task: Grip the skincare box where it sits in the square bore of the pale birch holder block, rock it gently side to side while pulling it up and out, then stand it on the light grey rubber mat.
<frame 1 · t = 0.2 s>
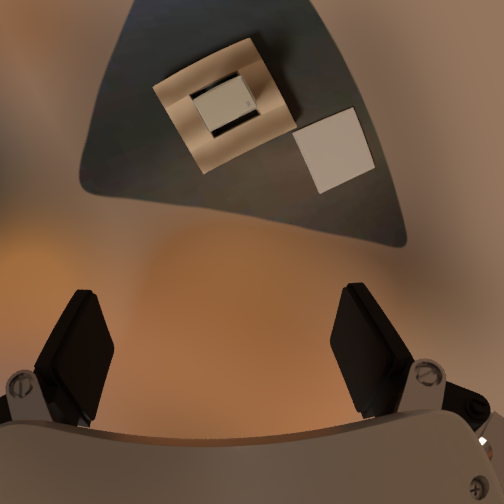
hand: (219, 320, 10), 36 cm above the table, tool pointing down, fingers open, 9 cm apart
skincare box: (225, 104, 39), resting in holder
mat: (336, 150, 43), on the table
holder: (225, 104, 38), on the table
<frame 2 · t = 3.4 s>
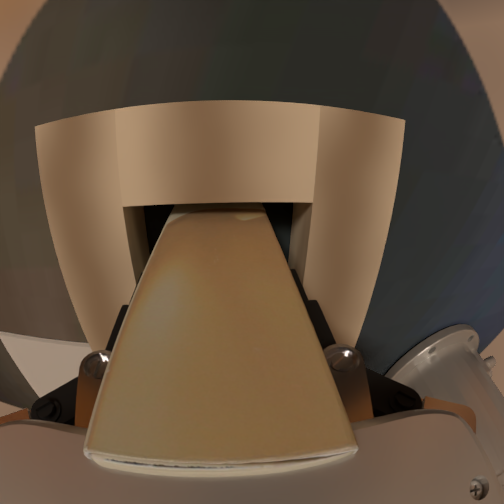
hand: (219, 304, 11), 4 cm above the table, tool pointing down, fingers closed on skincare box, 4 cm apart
skincare box: (219, 250, 15), resting in holder, touching gripper
mat: (69, 382, 20), on the table
holder: (219, 252, 15), on the table
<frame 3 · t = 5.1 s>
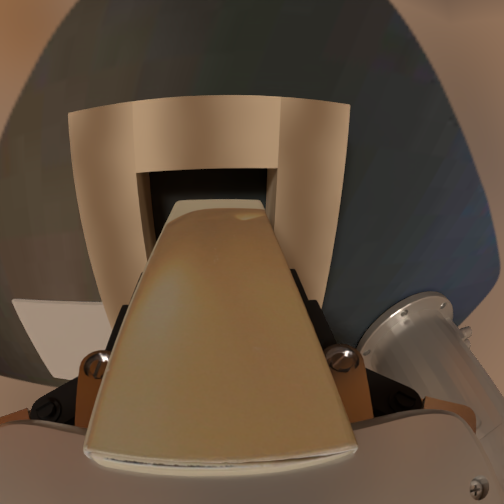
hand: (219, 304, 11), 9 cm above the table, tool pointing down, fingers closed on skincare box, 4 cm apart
skincare box: (218, 250, 15), point 4 cm above the table, touching gripper
mat: (75, 345, 23), on the table
holder: (208, 214, 19), on the table
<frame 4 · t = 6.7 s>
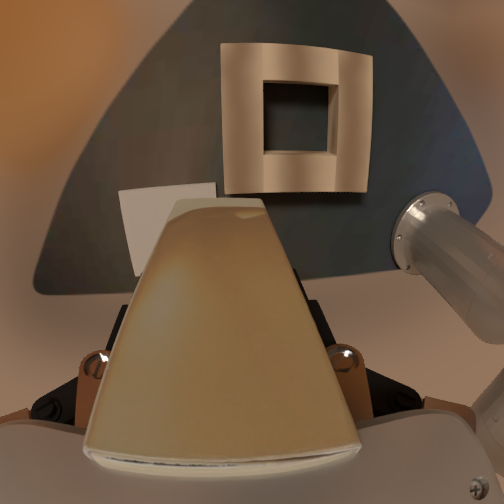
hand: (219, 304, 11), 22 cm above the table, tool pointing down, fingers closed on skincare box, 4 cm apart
skincare box: (219, 249, 15), point 17 cm above the table, touching gripper
mat: (171, 232, 33), on the table
holder: (294, 117, 28), on the table
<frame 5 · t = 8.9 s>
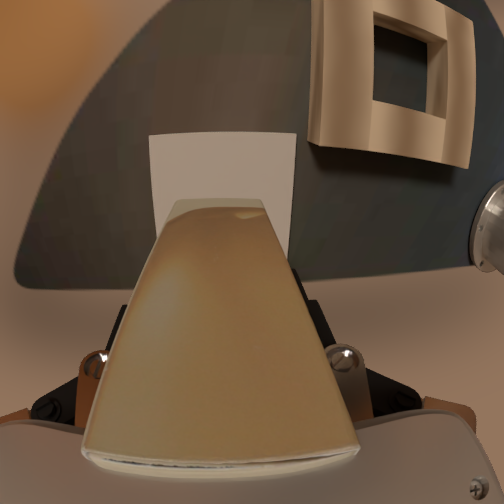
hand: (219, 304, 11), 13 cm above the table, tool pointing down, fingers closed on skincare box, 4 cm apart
skincare box: (218, 249, 15), point 8 cm above the table, touching gripper
mat: (222, 200, 23), on the table
holder: (394, 68, 18), on the table
when the fingers open (6 cm above the table, at t = 10.5 s): skincare box drops 1 cm, resting on mat.
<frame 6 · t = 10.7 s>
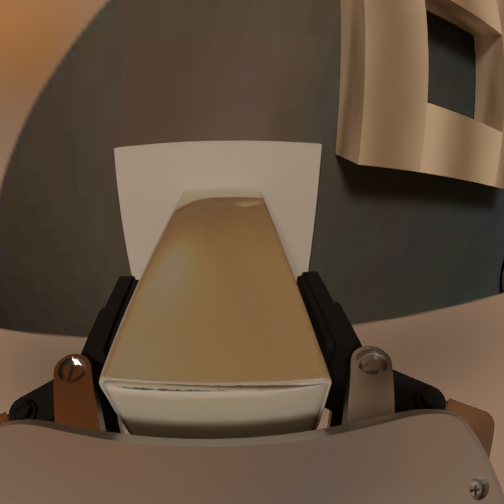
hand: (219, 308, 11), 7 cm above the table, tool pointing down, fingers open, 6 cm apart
skincare box: (222, 237, 17), resting on mat
mat: (218, 236, 17), on the table
holder: (441, 62, 12), on the table
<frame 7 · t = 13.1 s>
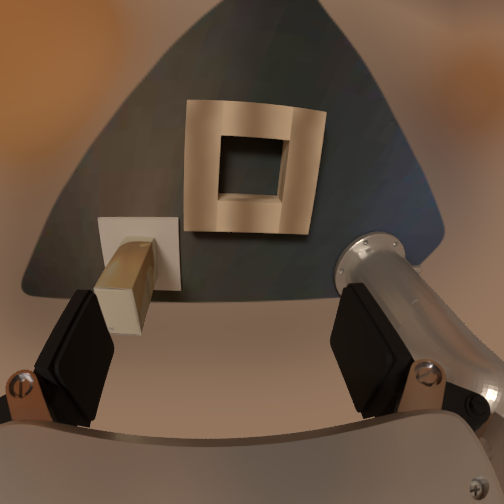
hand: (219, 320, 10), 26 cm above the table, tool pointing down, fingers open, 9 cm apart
skincare box: (141, 255, 37), resting on mat
mat: (140, 254, 37), on the table
holder: (250, 164, 34), on the table
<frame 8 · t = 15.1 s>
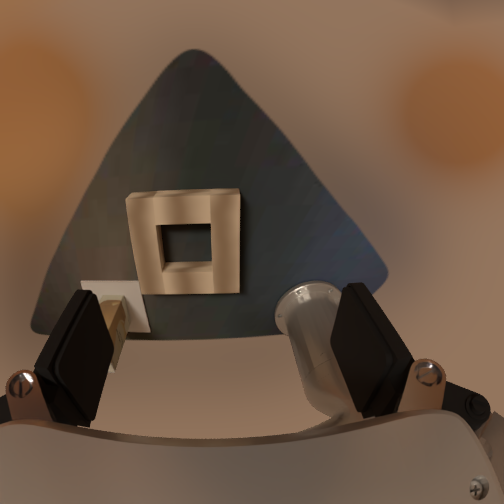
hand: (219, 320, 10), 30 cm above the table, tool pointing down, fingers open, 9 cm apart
skincare box: (117, 307, 46), resting on mat
mat: (116, 307, 46), on the table
holder: (186, 239, 42), on the table
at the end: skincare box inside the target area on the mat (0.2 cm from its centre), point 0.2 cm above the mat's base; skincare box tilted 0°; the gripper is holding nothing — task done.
